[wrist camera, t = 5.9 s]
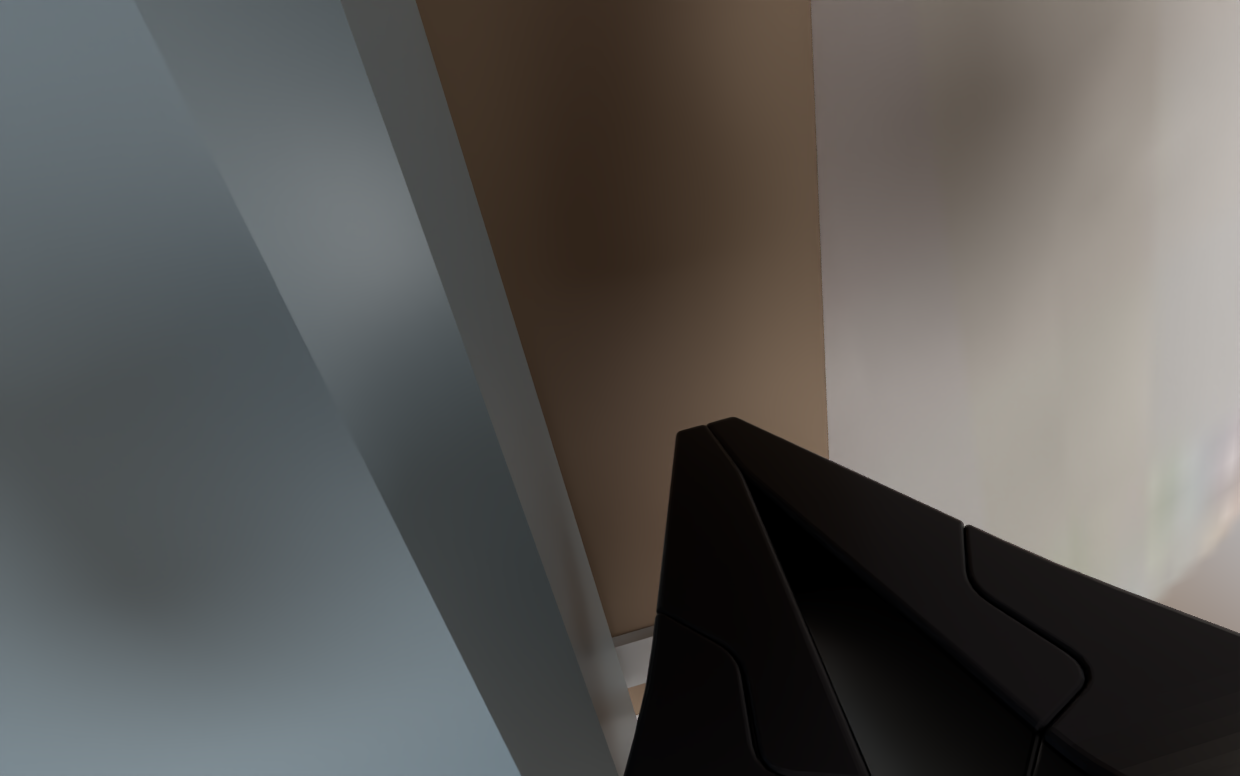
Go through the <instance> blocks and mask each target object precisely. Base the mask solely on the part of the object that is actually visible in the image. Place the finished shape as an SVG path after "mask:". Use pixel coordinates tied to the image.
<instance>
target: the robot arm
mask: <svg viewBox="0 0 1240 776" xmlns="http://www.w3.org/2000/svg"><path fill="white" fill-rule="evenodd" d="M656 614H657V615H656V617H655V623H654V631H653V640H652V647H651V654H650V660H649V667H648V673H647V680H646V686H645V691H644V695H643V699H642V704H641V708H640V712H639V717H638V721H637V725H636V730H635V734H634V738H633V742H632V745H631V749H630V753H629V756H628V760H627V764H626V768H625V771H624V775H623V776H1240V633H1238V632H1235V631H1232V630H1230V629H1227V628H1224V627H1222V626H1219V625H1216V624H1213V623H1211V622H1208V621H1206V620H1203V619H1200V618H1198V617H1195V616H1192V615H1190V614H1187V613H1184V612H1182V611H1179V610H1176V609H1174V608H1171V607H1168V606H1165V605H1163V604H1160V603H1158V602H1155V601H1152V600H1150V599H1147V598H1144V597H1142V596H1139V595H1136V594H1134V593H1131V592H1128V591H1126V590H1123V589H1121V588H1118V587H1115V586H1113V585H1110V584H1108V583H1105V582H1103V581H1100V580H1098V579H1095V578H1093V577H1090V576H1088V575H1085V574H1082V573H1080V572H1077V571H1075V570H1072V569H1070V568H1067V567H1065V566H1062V565H1060V564H1057V563H1055V562H1052V561H1050V560H1048V559H1046V558H1043V557H1041V556H1039V555H1036V554H1034V553H1032V552H1030V551H1027V550H1025V549H1023V548H1020V547H1018V546H1016V545H1014V544H1011V543H1009V542H1007V541H1004V540H1002V539H1000V538H998V537H996V536H993V535H991V534H989V533H987V532H985V531H983V530H980V529H978V528H976V527H974V526H972V525H966V526H965V527H964V524H963V522H962V521H960V520H958V519H956V518H954V517H952V516H950V515H947V514H945V513H943V512H941V511H939V510H937V509H934V508H932V507H930V506H928V505H926V504H924V503H922V502H919V501H917V500H915V499H913V498H911V497H909V496H906V495H904V494H902V493H900V492H898V491H896V490H893V489H891V488H889V487H887V486H885V485H883V484H880V483H878V482H876V481H874V480H872V479H870V478H867V477H865V476H863V475H861V474H859V473H857V472H854V471H852V470H850V469H848V468H846V467H844V466H841V465H839V464H837V463H835V462H833V461H831V460H828V459H826V458H824V457H822V456H820V455H818V454H815V453H813V452H811V451H809V450H807V449H805V448H803V447H800V446H798V445H796V444H794V443H792V442H790V441H787V440H785V439H783V438H781V437H779V436H777V435H774V434H772V433H770V432H768V431H766V430H764V429H761V428H759V427H757V426H755V425H753V424H751V423H748V422H746V421H744V420H742V419H740V418H737V417H729V418H725V419H722V420H718V421H714V422H711V423H708V424H707V425H699V426H696V427H692V428H688V429H684V430H681V431H679V432H678V433H677V434H676V440H675V449H674V458H673V466H672V475H671V484H670V493H669V502H668V511H667V520H666V529H665V538H664V546H663V555H662V564H661V573H660V582H659V591H658V600H657V609H656Z"/></svg>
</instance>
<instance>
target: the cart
mask: <svg viewBox="0 0 1240 776" xmlns="http://www.w3.org/2000/svg"><path fill="white" fill-rule="evenodd" d="M636 725H637V718H636V714H635V711H634V708H633V705H632V702H631V698H630V695H629V692H628V689H627V685H626V682H625V679H624V676H623V672H622V669H621V666H620V663H619V659H618V656H617V653H616V650H615V646H614V643H613V640H612V637H611V633H610V630H609V627H608V624H607V620H606V617H605V614H604V611H603V607H602V604H601V601H600V598H599V594H598V591H597V588H596V585H595V581H594V578H593V575H592V572H591V568H590V565H589V562H588V559H587V555H586V552H585V549H584V546H583V542H582V539H581V536H580V533H579V529H578V526H577V523H576V520H575V516H574V513H573V510H572V507H571V504H570V500H569V497H568V494H567V491H566V487H565V484H564V481H563V478H562V474H561V471H560V468H559V465H558V461H557V458H556V455H555V452H554V448H553V445H552V442H551V439H550V435H549V432H548V429H547V426H546V422H545V419H544V416H543V413H542V409H541V406H540V403H539V400H538V396H537V393H536V390H535V387H534V383H533V380H532V377H531V374H530V370H529V367H528V364H527V361H526V357H525V354H524V351H523V348H522V344H521V341H520V338H519V335H518V331H517V328H516V325H515V322H514V318H513V315H512V312H511V309H510V306H509V302H508V299H507V296H506V293H505V289H504V286H503V283H502V280H501V276H500V273H499V270H498V267H497V263H496V260H495V257H494V254H493V250H492V247H491V244H490V241H489V237H488V234H487V231H486V228H485V224H484V221H483V218H482V215H481V211H480V208H479V205H478V202H477V198H476V195H475V192H474V189H473V185H472V182H471V179H470V176H469V172H468V169H467V166H466V163H465V159H464V156H463V153H462V150H461V146H460V143H459V140H458V137H457V133H456V130H455V127H454V124H453V120H452V117H451V114H450V111H449V108H448V104H447V101H446V98H445V95H444V91H443V88H442V85H441V82H440V78H439V75H438V72H437V69H436V65H435V62H434V59H433V56H432V52H431V49H430V46H429V43H428V39H427V36H426V33H425V30H424V26H423V23H422V20H421V17H420V13H419V10H418V7H417V4H416V0H0V776H623V775H624V771H625V768H626V764H627V760H628V756H629V753H630V749H631V745H632V742H633V738H634V734H635V730H636Z"/></svg>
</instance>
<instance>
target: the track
mask: <svg viewBox="0 0 1240 776" xmlns="http://www.w3.org/2000/svg"><path fill="white" fill-rule="evenodd" d="M416 4H417V7H418V10H419V13H420V17H421V20H422V23H423V26H424V30H425V33H426V36H427V39H428V43H429V46H430V49H431V52H432V56H433V59H434V62H435V65H436V69H437V72H438V75H439V78H440V82H441V85H442V88H443V91H444V95H445V98H446V101H447V104H448V108H449V111H450V114H451V117H452V120H453V124H454V127H455V130H456V133H457V137H458V140H459V143H460V146H461V150H462V153H463V156H464V159H465V163H466V166H467V169H468V172H469V176H470V179H471V182H472V185H473V189H474V192H475V195H476V198H477V202H478V205H479V208H480V211H481V215H482V218H483V221H484V224H485V228H486V231H487V234H488V237H489V241H490V244H491V247H492V250H493V254H494V257H495V260H496V263H497V267H498V270H499V273H500V276H501V280H502V283H503V286H504V289H505V293H506V296H507V299H508V302H509V306H510V309H511V312H512V315H513V318H514V322H515V325H516V328H517V331H518V335H519V338H520V341H521V344H522V348H523V351H524V354H525V357H526V361H527V364H528V367H529V370H530V374H531V377H532V380H533V383H534V387H535V390H536V393H537V396H538V400H539V403H540V406H541V409H542V413H543V416H544V419H545V422H546V426H547V429H548V432H549V435H550V439H551V442H552V445H553V448H554V452H555V455H556V458H557V461H558V465H559V468H560V471H561V474H562V478H563V481H564V484H565V487H566V491H567V494H568V497H569V500H570V504H571V507H572V510H573V513H574V516H575V520H576V523H577V526H578V529H579V533H580V536H581V539H582V542H583V546H584V549H585V552H586V555H587V559H588V562H589V565H590V568H591V572H592V575H593V578H594V581H595V585H596V588H597V591H598V594H599V598H600V601H601V604H602V607H603V611H604V614H605V617H606V620H607V624H608V627H609V630H610V633H611V637H612V640H613V643H614V646H615V650H616V653H617V656H618V659H619V663H620V666H621V669H622V672H623V676H624V679H625V682H626V685H627V689H628V692H629V695H630V698H631V702H632V705H633V708H634V711H635V714H636V715H638V714H639V712H640V708H641V704H642V699H643V695H644V691H645V686H646V680H647V673H648V667H649V660H650V654H651V647H652V640H653V631H654V623H655V617H656V615H657V614H656V609H657V600H658V591H659V582H660V573H661V564H662V555H663V546H664V538H665V529H666V520H667V511H668V502H669V493H670V484H671V475H672V466H673V458H674V449H675V440H676V434H677V433H678V432H679V431H681V430H684V429H688V428H692V427H696V426H699V425H707V424H708V423H711V422H714V421H718V420H722V419H725V418H729V417H737V418H740V419H742V420H744V421H746V422H748V423H751V424H753V425H755V426H757V427H759V428H761V429H764V430H766V431H768V432H770V433H772V434H774V435H777V436H779V437H781V438H783V439H785V440H787V441H790V442H792V443H794V444H796V445H798V446H800V447H803V448H805V449H807V450H809V451H811V452H813V453H815V454H818V455H820V456H822V457H824V458H826V459H828V460H829V450H828V425H827V400H826V375H825V350H824V325H823V300H822V274H821V249H820V224H819V199H818V174H817V149H816V124H815V98H814V73H813V48H812V23H811V0H416Z"/></svg>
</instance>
